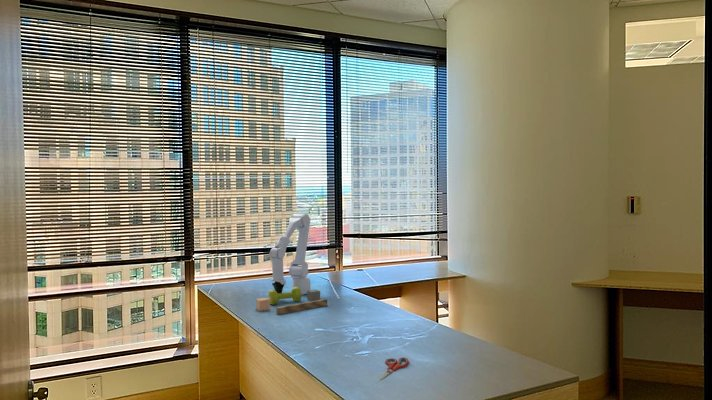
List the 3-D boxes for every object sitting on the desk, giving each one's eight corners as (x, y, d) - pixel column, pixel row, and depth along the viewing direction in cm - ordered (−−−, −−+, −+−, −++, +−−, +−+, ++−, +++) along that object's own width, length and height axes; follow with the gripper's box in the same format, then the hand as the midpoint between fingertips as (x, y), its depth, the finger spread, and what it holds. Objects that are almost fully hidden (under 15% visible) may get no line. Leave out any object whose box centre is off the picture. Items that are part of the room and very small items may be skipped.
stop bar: (325, 304, 244) (325, 298, 244) (327, 305, 242) (327, 299, 242) (276, 313, 230) (276, 307, 230) (278, 314, 228) (278, 308, 228)
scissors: (372, 385, 144) (372, 380, 144) (387, 360, 164) (386, 356, 164) (398, 387, 142) (398, 382, 142) (410, 361, 162) (409, 357, 162)
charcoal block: (316, 298, 259) (315, 289, 258) (320, 300, 254) (320, 290, 254) (307, 300, 256) (307, 290, 256) (312, 302, 252) (311, 292, 251)
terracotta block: (265, 307, 243) (265, 297, 243) (269, 309, 239) (269, 299, 239) (256, 309, 241) (255, 299, 241) (260, 311, 236) (259, 300, 236)
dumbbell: (298, 299, 260) (297, 285, 260) (302, 302, 253) (302, 288, 253) (267, 303, 253) (266, 289, 253) (271, 306, 246) (270, 291, 246)
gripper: (265, 269, 263) (266, 295, 263) (276, 273, 251) (277, 299, 251) (277, 268, 267) (278, 293, 267) (289, 271, 254) (290, 297, 255)
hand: (278, 296), depth 259 cm, fingers closed
